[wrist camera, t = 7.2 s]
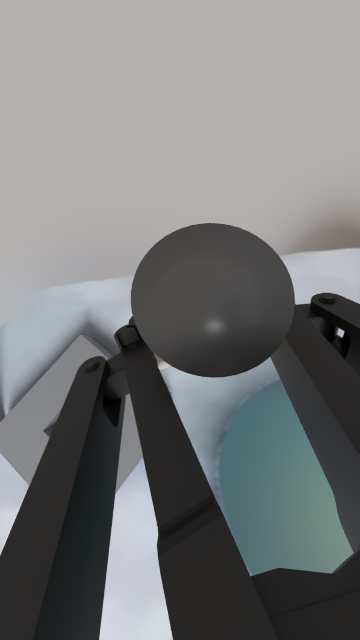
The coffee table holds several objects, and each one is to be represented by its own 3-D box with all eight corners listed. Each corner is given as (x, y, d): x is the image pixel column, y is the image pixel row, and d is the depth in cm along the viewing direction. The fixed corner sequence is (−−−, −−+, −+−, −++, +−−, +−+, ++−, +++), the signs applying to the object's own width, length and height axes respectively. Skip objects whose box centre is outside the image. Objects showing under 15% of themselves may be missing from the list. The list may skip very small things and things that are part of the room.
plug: (231, 339, 20) (326, 279, 6) (200, 381, 19) (230, 417, 5) (191, 308, 21) (196, 198, 7) (159, 347, 20) (97, 306, 6)
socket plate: (174, 409, 27) (173, 415, 24) (93, 517, 25) (79, 541, 21) (92, 338, 30) (80, 334, 27) (11, 428, 27) (-14, 437, 24)
